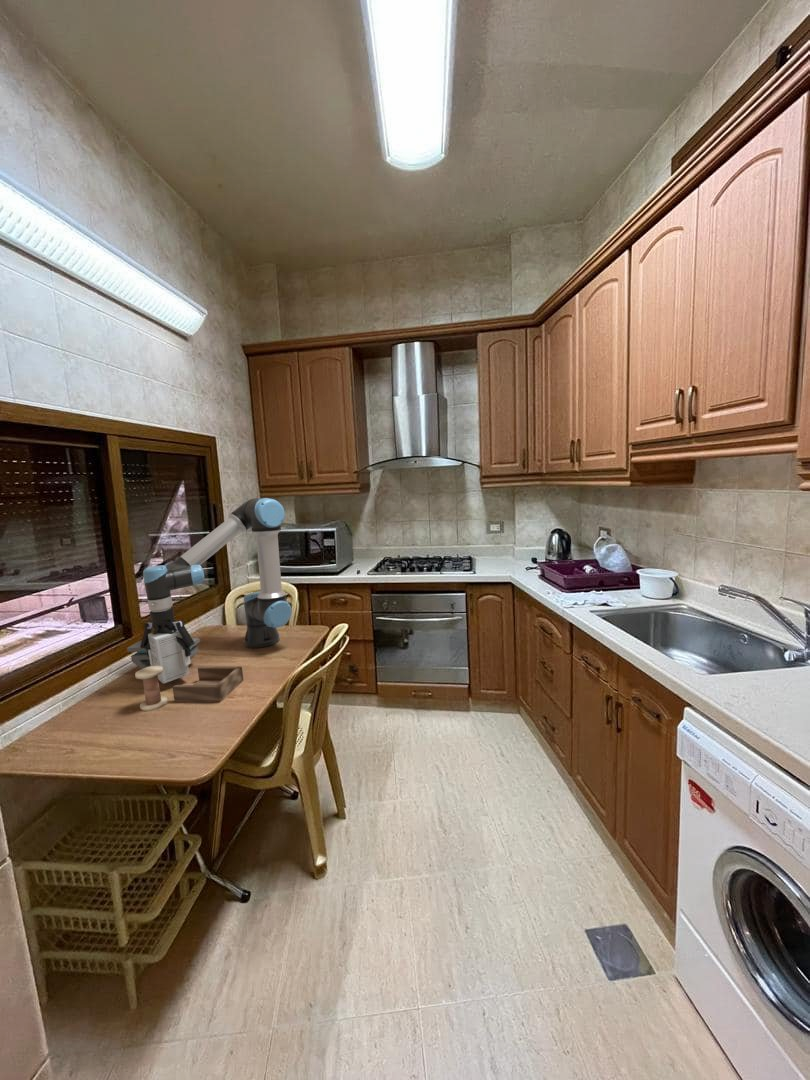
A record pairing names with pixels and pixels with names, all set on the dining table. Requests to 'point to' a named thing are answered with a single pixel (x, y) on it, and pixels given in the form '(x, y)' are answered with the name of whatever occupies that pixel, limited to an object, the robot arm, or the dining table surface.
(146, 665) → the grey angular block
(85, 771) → the dining table surface
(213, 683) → the open wooden tray
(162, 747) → the dining table surface
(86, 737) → the dining table surface
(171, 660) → the supplement box
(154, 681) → the bobbin post
